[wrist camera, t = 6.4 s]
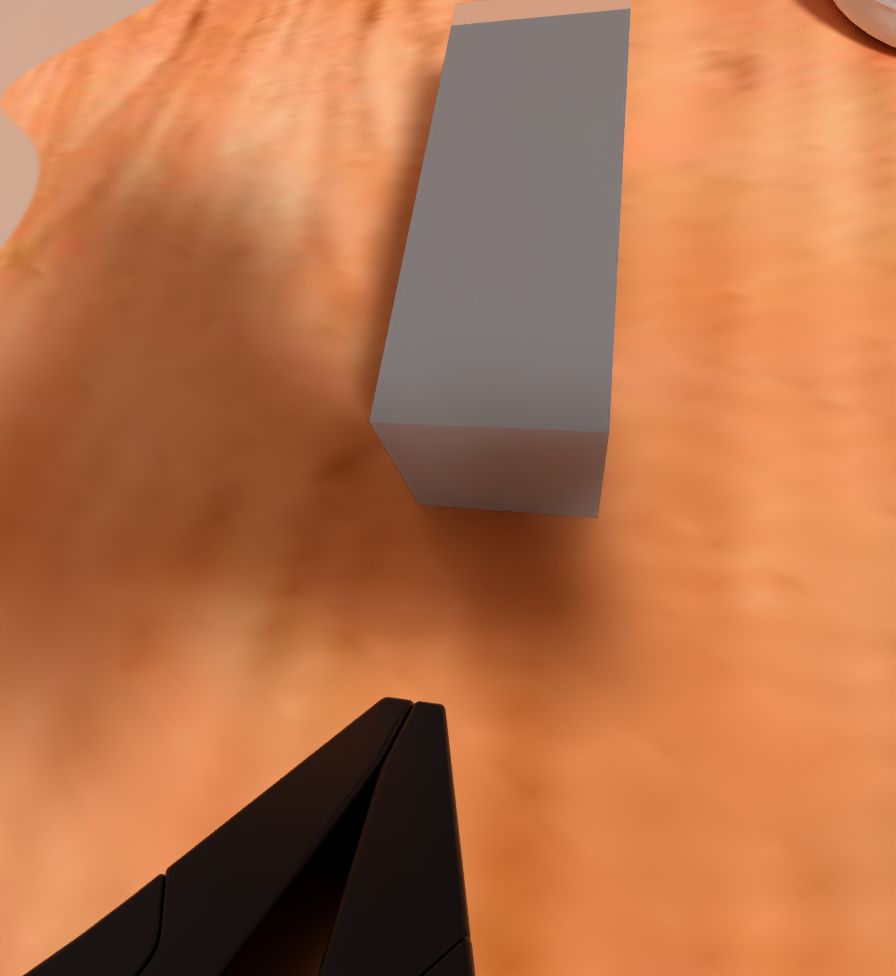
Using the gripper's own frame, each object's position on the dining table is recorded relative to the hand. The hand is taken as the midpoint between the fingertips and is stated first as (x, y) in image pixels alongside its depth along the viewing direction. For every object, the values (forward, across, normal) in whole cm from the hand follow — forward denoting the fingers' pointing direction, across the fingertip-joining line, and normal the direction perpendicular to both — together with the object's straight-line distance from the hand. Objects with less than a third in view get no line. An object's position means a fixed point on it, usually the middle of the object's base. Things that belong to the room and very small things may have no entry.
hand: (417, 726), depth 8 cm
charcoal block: (+8, 0, -1) cm, 8 cm away
